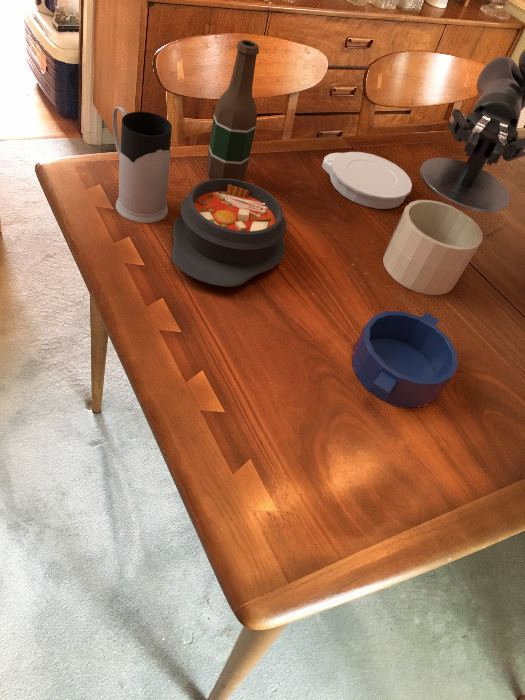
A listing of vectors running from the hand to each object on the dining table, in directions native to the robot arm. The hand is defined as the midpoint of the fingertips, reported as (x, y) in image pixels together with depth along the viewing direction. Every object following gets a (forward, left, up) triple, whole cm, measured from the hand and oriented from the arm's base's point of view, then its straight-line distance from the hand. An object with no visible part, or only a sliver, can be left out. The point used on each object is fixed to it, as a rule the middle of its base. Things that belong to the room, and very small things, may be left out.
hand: (481, 154), depth 81 cm
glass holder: (+47, +21, -24) cm, 56 cm away
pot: (+1, -3, -24) cm, 24 cm away
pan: (-6, +23, -24) cm, 34 cm away
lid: (+22, -21, -24) cm, 38 cm away
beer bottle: (+42, +1, -24) cm, 48 cm away
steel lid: (+1, -3, -6) cm, 7 cm away
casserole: (+28, +19, -24) cm, 41 cm away
